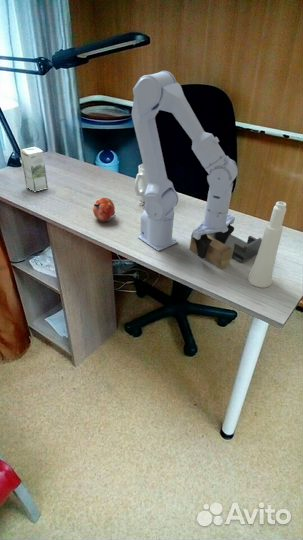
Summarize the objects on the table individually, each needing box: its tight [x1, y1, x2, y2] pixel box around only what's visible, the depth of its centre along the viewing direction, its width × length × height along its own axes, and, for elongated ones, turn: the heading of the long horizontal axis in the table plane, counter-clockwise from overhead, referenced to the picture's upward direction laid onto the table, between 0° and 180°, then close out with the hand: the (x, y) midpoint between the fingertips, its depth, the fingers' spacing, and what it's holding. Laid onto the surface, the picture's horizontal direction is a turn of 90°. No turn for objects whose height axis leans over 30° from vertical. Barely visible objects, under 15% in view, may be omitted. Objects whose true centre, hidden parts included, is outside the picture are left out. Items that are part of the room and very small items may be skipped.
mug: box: [134, 163, 148, 203], centre depth 123 cm, size 10×7×12 cm, turn 139°
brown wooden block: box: [189, 234, 233, 269], centre depth 98 cm, size 12×4×5 cm, turn 40°
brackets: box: [207, 232, 262, 264], centre depth 103 cm, size 16×8×5 cm, turn 40°
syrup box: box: [19, 146, 49, 192], centre depth 127 cm, size 6×6×14 cm
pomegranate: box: [92, 197, 116, 223], centre depth 113 cm, size 7×7×10 cm
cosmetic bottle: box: [247, 201, 287, 289], centre depth 85 cm, size 6×6×22 cm
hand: (210, 252), depth 99 cm, fingers open, 7 cm apart
